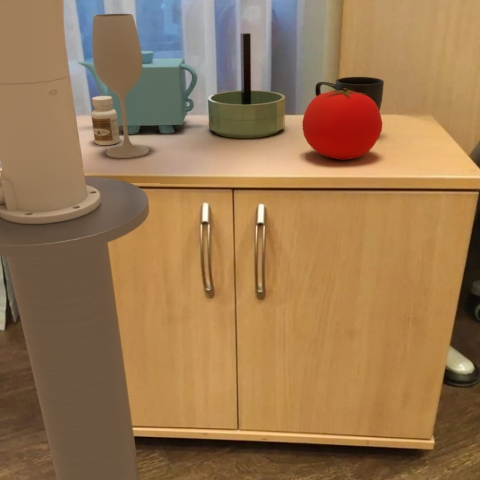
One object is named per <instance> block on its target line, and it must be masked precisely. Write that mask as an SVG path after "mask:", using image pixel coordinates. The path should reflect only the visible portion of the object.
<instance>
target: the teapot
mask: <svg viewBox="0 0 480 480" xmlns="http://www.w3.org/2000/svg"><path fill="white" fill-rule="evenodd" d="M141 53H142V62H143V63H142V72H141V76H140V78H139V79H138V81H137V83H136V84H135V85H134V86H133V87H132V89H131V90H130V91H129V92H128V93H127V94H126V97H125V109H126V119H127V128H128V135H133V134H138V133H140V129H141V126H158V130H159V133H161V134H173V133H175V129H174V127H173V126H182V125H183V124H184V121H185V120H186V116H187V114H188V113H189V112H191V111H192V110H193V109H194V107H195V103H194V101H193V99H191V98H190V95H191V94H192V92H193V91H194V89H195V87H196V85H197V82H198V74H197V71H196V70H195V69H194V67H192V66H191V65H190V64H188V63H185V57H176V58H174V57H173V58H154V55H155V52H154V51H153V50H141ZM77 64H78V65H81V66H83V67H84V68H86V69H87V70H88V71H89V72H90V74H91V76H92V77H93V79H94V81H95V85H96V87H97V90H98V92H99V94H100V96H111V97H112V100H113V106H112V109H114V110H115V111H116V113H117V120H118V127H120V126H121V127H123V123H122V114H121V104H120V100H119V97H118V96H117V94H116V93H114V92H113V91H112V90H111V89H109V88H108V87H107V86H106V85H105V84H104V83H103V82H102V81H101V80H100V79H99V77H98V75H97V73H96V71H95V67H94V62H93V61H78V62H77ZM186 71H187V72H189V73H190V74H191V81H190V84H189V85H188V87H187V81H186ZM188 104H189V105H188Z"/></svg>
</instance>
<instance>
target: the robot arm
mask: <svg viewBox="0 0 480 480" xmlns="http://www.w3.org/2000/svg"><path fill="white" fill-rule="evenodd" d="M69 65H70V64H69V59H68V50H67V44H66V33H65V0H0V166H1V170H0V217H1V218H3V219H5V220H7V221H10V222H14V223H20V224H48V223H56V222H62V221H67V220H71V219H75V218H78V217H81V216H83V215H86V214H88V213H90V212H92V211H93V210H95V209H96V208H97V207H98V206H99V205H100V203H101V198H100V193H99V191H98V190H97V189H95V188H94V187H91V186H89V185H86V182H85V176H86V175H85V168H84V163H83V155H82V148H81V141H80V135H79V127H78V121H77V113H76V107H75V100H74V93H73V86H72V80H71V79H72V78H71V73H70V66H69Z"/></svg>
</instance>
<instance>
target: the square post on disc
mask: <svg viewBox="0 0 480 480" xmlns="http://www.w3.org/2000/svg"><path fill="white" fill-rule="evenodd" d="M251 35H252V34H251V33H250V32H243V33H242V32H241V33H240V90H241V102H242V105H245V104H251V90H252V56H251V55H252V51H251V50H252V49H251V48H252V44H251V43H252V42H251V41H252V40H251V38H252V37H251Z"/></svg>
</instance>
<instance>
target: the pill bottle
mask: <svg viewBox="0 0 480 480" xmlns="http://www.w3.org/2000/svg"><path fill="white" fill-rule="evenodd" d="M91 102H92V103H91V104H92V107H93V108H94V109H93V110H92V112H91V113H90V116H91V123H92V130H93V138H94V143H95V144H97V145H99V146H113V145H116V144H118V143H120V141H121V139H120V129H119V126H118V120H117V113H116V111H115V110H114V109H112V106H113V100H112V97H111V96H102V95H99V96H98V95H97V96H93V97H92V98H91Z"/></svg>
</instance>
